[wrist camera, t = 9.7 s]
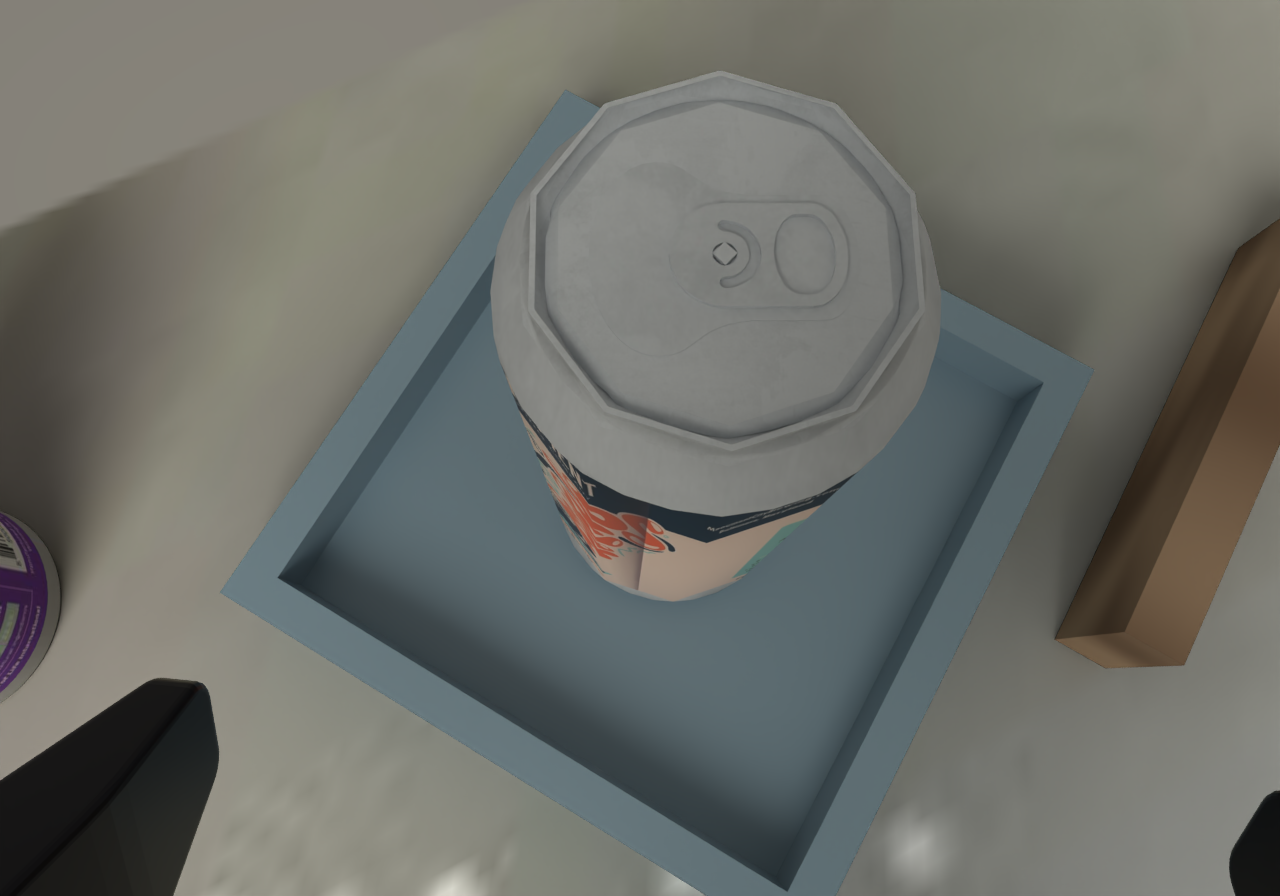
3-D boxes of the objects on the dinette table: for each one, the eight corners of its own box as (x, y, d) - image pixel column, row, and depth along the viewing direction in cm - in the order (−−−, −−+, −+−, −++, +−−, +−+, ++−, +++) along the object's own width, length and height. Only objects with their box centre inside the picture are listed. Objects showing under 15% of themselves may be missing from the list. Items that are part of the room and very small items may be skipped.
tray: (787, 930, 19) (805, 956, 18) (257, 601, 21) (219, 592, 19) (1053, 397, 22) (1094, 369, 20) (570, 138, 24) (565, 89, 22)
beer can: (561, 386, 21) (484, 33, 10) (775, 386, 22) (951, 34, 10) (558, 604, 20) (468, 497, 9) (784, 603, 20) (995, 495, 9)
